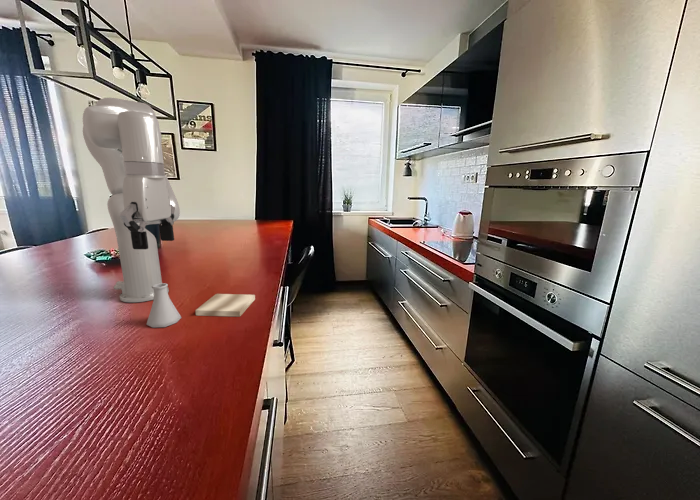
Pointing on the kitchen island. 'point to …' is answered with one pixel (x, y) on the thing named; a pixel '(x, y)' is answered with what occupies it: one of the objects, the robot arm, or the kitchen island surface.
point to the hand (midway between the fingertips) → (155, 244)
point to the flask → (162, 308)
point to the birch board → (225, 305)
